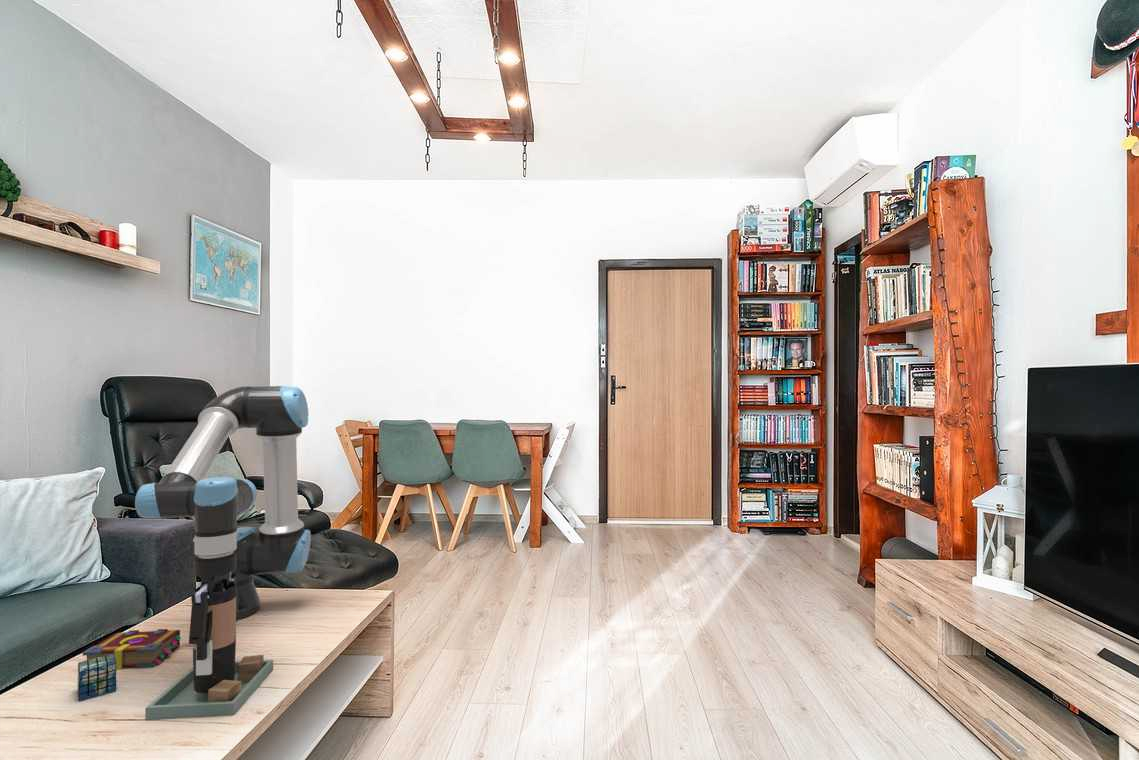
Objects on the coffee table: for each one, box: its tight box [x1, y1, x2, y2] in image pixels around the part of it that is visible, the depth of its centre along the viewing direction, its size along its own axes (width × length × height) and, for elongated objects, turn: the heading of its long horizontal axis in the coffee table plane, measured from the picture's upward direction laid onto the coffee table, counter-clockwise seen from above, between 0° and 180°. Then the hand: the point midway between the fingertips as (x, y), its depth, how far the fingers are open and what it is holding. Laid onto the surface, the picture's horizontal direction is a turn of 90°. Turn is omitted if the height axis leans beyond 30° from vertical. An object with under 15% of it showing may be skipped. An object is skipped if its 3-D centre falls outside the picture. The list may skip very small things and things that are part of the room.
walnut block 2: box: [238, 654, 265, 683], centre depth 125 cm, size 4×4×4 cm
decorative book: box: [82, 628, 182, 671], centre depth 136 cm, size 11×16×5 cm
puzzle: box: [77, 654, 117, 702], centre depth 121 cm, size 6×6×6 cm
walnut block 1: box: [208, 680, 242, 703], centre depth 114 cm, size 4×4×4 cm
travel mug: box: [192, 582, 237, 693], centre depth 119 cm, size 8×8×20 cm
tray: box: [144, 659, 274, 721], centre depth 119 cm, size 18×16×3 cm
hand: (214, 664), depth 119 cm, fingers closed on travel mug, 8 cm apart
